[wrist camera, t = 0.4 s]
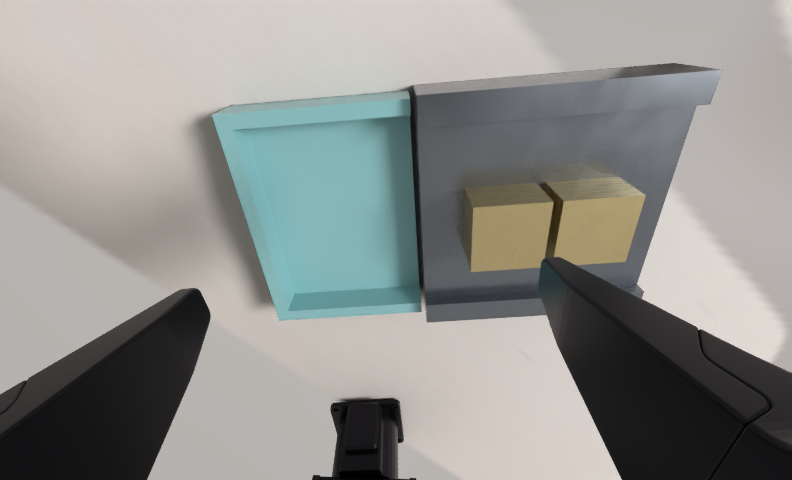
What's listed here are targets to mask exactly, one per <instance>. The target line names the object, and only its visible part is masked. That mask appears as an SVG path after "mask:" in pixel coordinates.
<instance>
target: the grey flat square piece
mask: <svg viewBox="0 0 792 480" xmlns="http://www.w3.org/2000/svg"><path fill="white" fill-rule="evenodd" d="M721 73H722V70H720V69H713V68H706V67H698V66H692V65H684V64H677V63H670V64H657V65H647V66H634V67H622V68H610V69H598V70H587V71H576V72H563V73H551V74H539V75H527V76H515V77H504V78H492V79H480V80H468V81H456V82H444V83H433V84H421V85H413V89H414V109H415V130H416V150H417V170H418V191H419V211H420V232H421V252H422V273H423V292H424V301H425V310H426V319H427V322H441V321H457V320H473V319H489V318H506V317H522V316H538V315H547V314H546V311H545V308H544V305H543V302H542V299H541V296H540V293H539V288H538V283H539V275H540V268H525V269H510V270H495V271H480V272H471V271H470V268H469V265H468V261H467V258H466V255H465V252H464V249H463V244H464V200H465V188H475V187H489V186H502V185H516V184H529V183H537V184H538V185H539V186H540V187H541V188H542V189H543V191H544V190H545V184H546V182H556V181H570V180H583V179H597V178H610V177H620V178H621V179H623V180H624V181H626V182H627V183H628V184H630V185H631V186H633V187H634V188H636V189H637V190H639V191H640V192H642V193H643V194H645V195H646V196H645V200H644V203H643V206H642V210H641V213H640V216H639V219H638V223H637V226H636V229H635V233H634V236H633V239H632V242H631V246H630V249H629V252H628V256H627V259H626V262H616V263H601V264H586V265H577V266H579V267H581V268H582V269H584V270H586V271H588V272H590V273H592V274H594V275H596V276H598V277H600V278H602V279H604V280H606V281H608V282H610V283H612V284H614V285H616V286H618V287H620V288H621V289H623V290H625V291H627V292H629V293H631V294H633V295H635V296H637V297H639V298H642V296H643V293H644V291H643V290H642V289H641V288H640V287H639V286H638V285H637V282H638V279H639V276H640V273H641V270H642V267H643V264H644V261H645V258H646V255H647V252H648V249H649V246H650V243H651V240H652V237H653V234H654V231H655V228H656V225H657V222H658V219H659V216H660V213H661V210H662V207H663V204H664V201H665V198H666V195H667V192H668V189H669V187H670V184H671V181H672V178H673V175H674V172H675V169H676V166H677V163H678V160H679V157H680V154H681V151H682V148H683V145H684V142H685V139H686V136H687V133H688V130H689V127H690V124H691V121H692V118H693V115H694V112H695V109H696V106H697V105H707V104H711V101H712V98H713V95H714V93H715V90H716V87H717V84H718V81H719V78H720V75H721ZM545 258H546V256H545Z"/></svg>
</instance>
